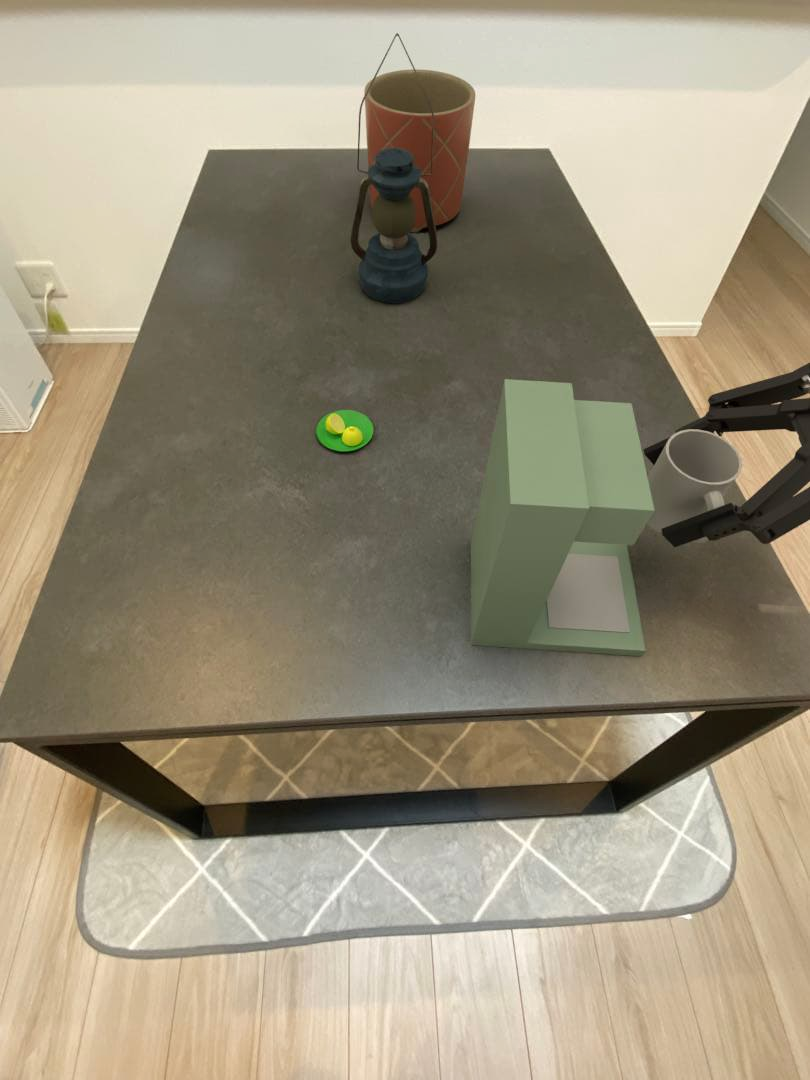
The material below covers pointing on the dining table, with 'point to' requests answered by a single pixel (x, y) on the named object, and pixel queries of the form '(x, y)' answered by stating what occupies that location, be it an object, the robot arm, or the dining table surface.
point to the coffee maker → (559, 524)
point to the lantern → (394, 223)
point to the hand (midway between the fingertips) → (658, 496)
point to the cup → (691, 477)
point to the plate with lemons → (344, 430)
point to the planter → (423, 133)
